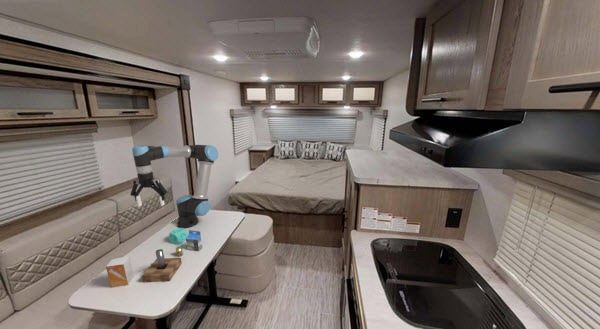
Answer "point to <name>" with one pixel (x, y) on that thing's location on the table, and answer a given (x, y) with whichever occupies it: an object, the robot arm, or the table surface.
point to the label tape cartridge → (194, 241)
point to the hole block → (162, 271)
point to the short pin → (179, 251)
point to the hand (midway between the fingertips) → (151, 205)
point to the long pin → (160, 259)
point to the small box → (120, 271)
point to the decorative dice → (177, 235)
